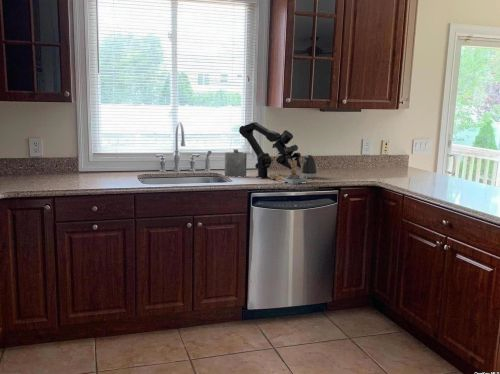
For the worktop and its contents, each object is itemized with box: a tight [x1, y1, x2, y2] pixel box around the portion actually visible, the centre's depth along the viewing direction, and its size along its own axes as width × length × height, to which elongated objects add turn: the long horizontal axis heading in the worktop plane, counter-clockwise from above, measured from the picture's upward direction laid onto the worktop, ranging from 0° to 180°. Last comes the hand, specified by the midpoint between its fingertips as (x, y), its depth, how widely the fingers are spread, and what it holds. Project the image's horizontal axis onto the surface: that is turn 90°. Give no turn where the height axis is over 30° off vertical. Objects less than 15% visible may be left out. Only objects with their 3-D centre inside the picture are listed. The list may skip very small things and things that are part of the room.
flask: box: [224, 148, 247, 177], centre depth 331 cm, size 4×14×18 cm, turn 86°
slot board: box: [269, 173, 289, 181], centre depth 322 cm, size 12×10×3 cm
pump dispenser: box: [300, 154, 318, 179], centre depth 330 cm, size 10×10×15 cm
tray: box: [280, 177, 307, 185], centre depth 312 cm, size 11×11×3 cm
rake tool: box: [287, 160, 301, 180], centre depth 311 cm, size 5×5×13 cm
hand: (296, 168), depth 310 cm, fingers open, 9 cm apart
